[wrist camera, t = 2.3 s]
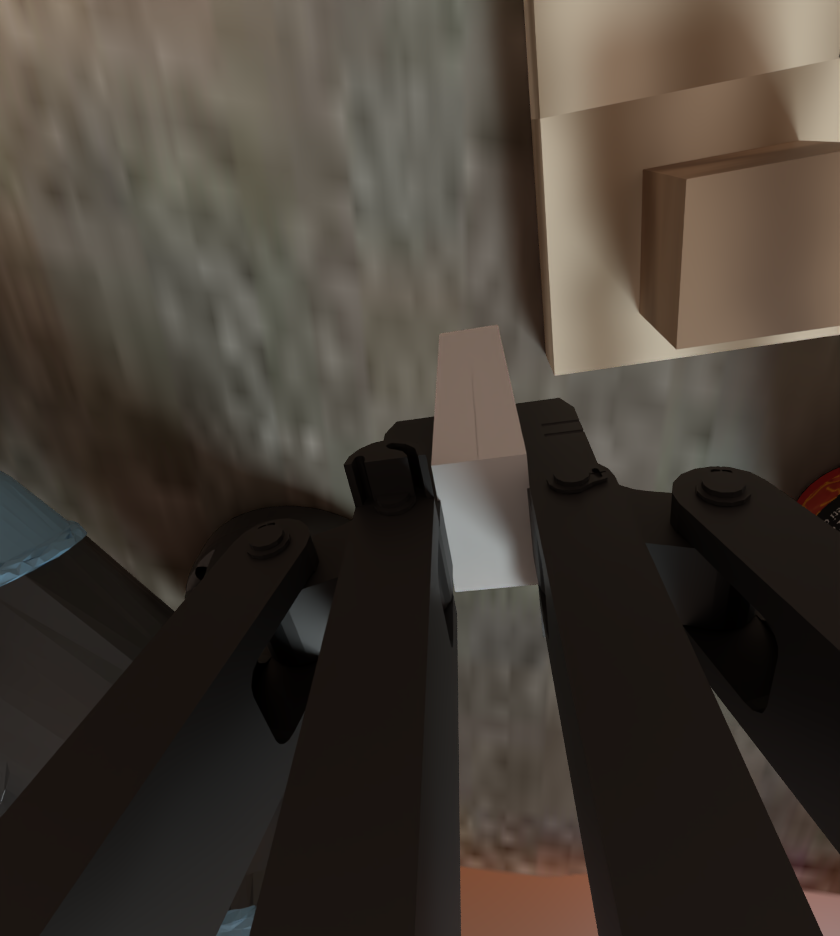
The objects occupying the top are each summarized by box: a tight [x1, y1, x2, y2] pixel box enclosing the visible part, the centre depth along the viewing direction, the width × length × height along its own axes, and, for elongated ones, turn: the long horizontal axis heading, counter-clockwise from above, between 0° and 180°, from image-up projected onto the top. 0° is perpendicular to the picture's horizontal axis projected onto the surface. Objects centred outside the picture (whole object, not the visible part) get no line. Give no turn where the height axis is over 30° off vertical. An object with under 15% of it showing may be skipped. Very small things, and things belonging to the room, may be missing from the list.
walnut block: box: [639, 140, 840, 350], centre depth 22 cm, size 6×6×5 cm
